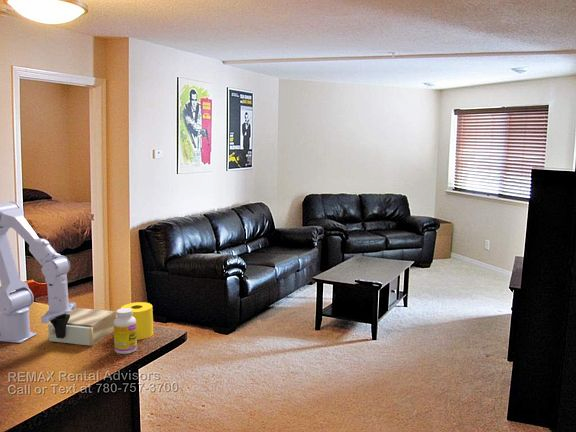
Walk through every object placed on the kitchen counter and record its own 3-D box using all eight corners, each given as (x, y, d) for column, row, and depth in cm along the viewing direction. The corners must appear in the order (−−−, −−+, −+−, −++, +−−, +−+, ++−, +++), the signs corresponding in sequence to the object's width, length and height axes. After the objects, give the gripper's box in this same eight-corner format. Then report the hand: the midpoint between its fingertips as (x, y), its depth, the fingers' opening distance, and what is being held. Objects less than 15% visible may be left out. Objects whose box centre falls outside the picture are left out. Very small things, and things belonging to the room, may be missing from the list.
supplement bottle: (130, 355, 163) (129, 314, 161) (110, 353, 164) (108, 313, 162) (141, 347, 169) (139, 307, 167) (121, 345, 171) (119, 306, 168)
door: (94, 344, 170) (93, 327, 169) (90, 347, 168) (89, 329, 167) (51, 339, 174) (50, 322, 173) (47, 342, 172) (45, 325, 171)
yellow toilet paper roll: (145, 326, 187) (144, 300, 185) (158, 335, 179) (157, 307, 178) (117, 333, 181) (116, 306, 179) (129, 342, 173) (128, 314, 171)
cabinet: (51, 340, 174) (50, 321, 173) (77, 325, 187) (75, 307, 186) (93, 345, 171) (92, 325, 170) (116, 329, 184) (115, 311, 183)
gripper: (54, 303, 160) (57, 347, 162) (83, 290, 174) (85, 330, 176) (33, 302, 162) (36, 345, 164) (63, 288, 176) (66, 328, 178)
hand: (60, 337), depth 170 cm, fingers closed
